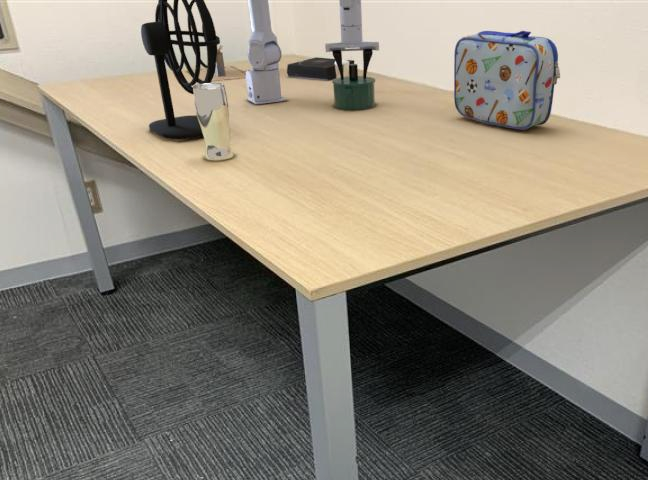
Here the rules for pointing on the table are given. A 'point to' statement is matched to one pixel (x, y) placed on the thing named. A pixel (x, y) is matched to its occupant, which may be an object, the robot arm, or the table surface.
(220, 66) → the architectural model on board
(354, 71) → the lid
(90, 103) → the table surface
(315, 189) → the table surface
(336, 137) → the table surface
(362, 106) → the tin
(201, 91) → the beer glass
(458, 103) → the lunch box
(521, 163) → the table surface
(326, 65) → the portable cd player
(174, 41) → the desk fan
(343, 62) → the milkshake
